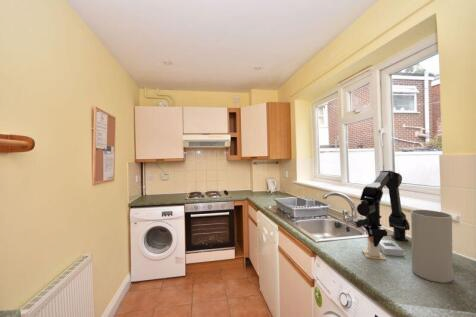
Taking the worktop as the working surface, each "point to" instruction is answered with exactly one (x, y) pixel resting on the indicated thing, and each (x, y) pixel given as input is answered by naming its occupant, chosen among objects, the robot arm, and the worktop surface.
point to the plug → (373, 248)
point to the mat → (373, 256)
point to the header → (390, 248)
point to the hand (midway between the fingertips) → (373, 244)
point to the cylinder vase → (432, 245)
